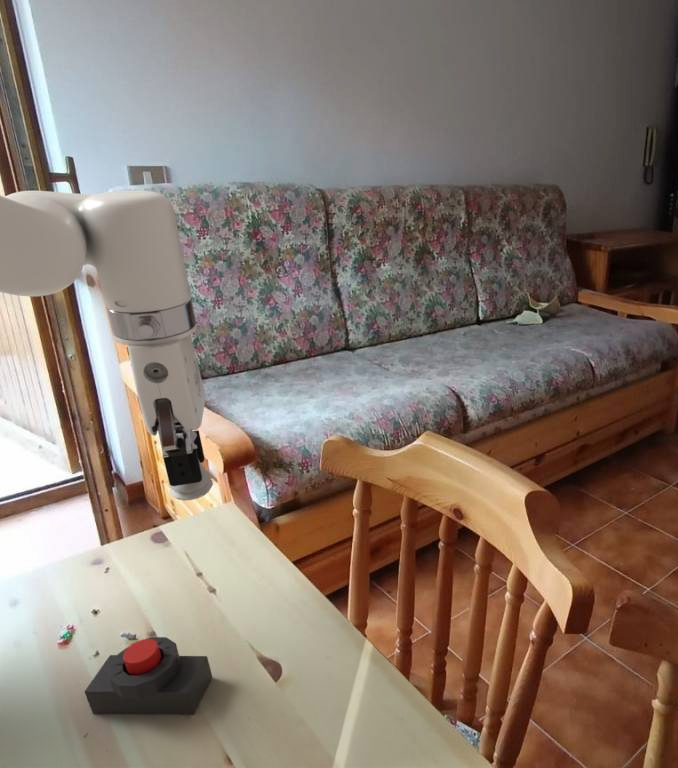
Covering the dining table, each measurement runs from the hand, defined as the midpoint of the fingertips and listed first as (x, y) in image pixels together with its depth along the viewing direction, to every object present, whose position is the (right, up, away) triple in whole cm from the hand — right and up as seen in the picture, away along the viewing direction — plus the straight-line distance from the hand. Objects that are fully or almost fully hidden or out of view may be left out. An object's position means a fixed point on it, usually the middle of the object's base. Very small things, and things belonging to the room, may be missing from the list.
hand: (187, 471), depth 71 cm
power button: (0, -18, -9) cm, 20 cm away
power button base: (0, -22, -7) cm, 23 cm away
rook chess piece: (0, -3, +1) cm, 3 cm away
